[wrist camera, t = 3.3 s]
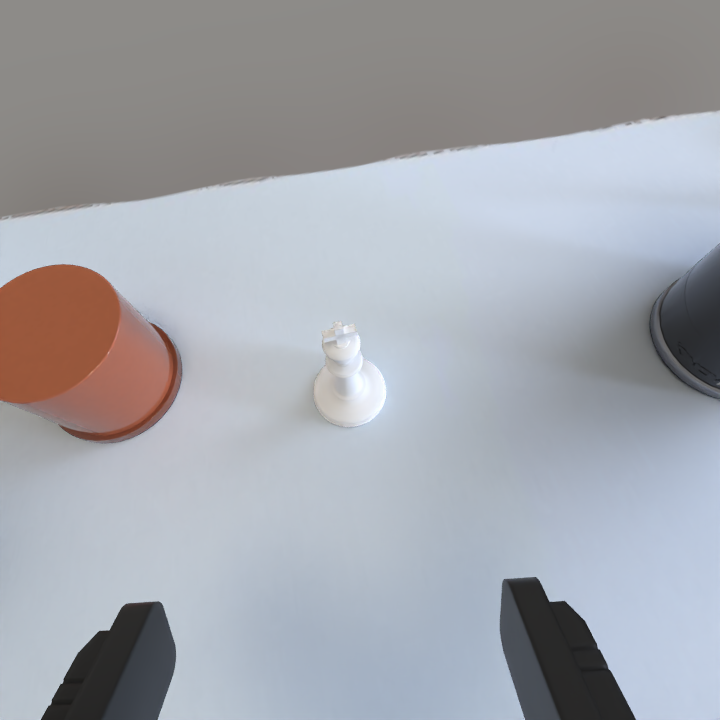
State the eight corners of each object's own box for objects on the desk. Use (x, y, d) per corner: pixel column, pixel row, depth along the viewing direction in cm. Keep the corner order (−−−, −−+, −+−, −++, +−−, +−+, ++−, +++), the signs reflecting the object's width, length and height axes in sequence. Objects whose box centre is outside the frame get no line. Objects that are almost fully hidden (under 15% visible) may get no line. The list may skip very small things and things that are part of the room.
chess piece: (307, 367, 33) (279, 293, 24) (376, 351, 33) (375, 272, 24) (321, 435, 31) (297, 384, 22) (394, 417, 31) (400, 359, 22)
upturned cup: (136, 300, 35) (73, 232, 28) (207, 380, 33) (158, 329, 25) (29, 378, 33) (-70, 328, 26) (96, 471, 31) (7, 445, 23)
